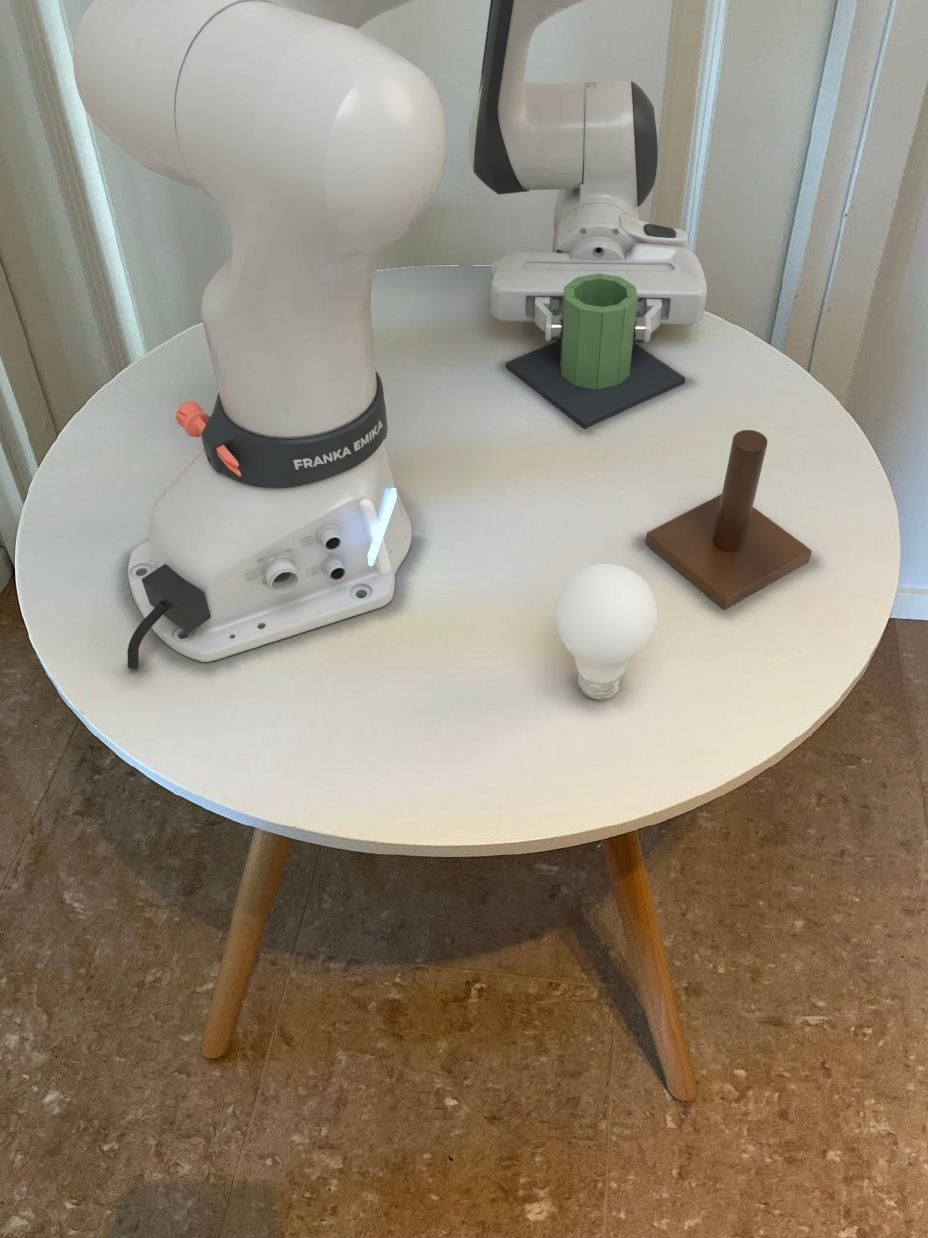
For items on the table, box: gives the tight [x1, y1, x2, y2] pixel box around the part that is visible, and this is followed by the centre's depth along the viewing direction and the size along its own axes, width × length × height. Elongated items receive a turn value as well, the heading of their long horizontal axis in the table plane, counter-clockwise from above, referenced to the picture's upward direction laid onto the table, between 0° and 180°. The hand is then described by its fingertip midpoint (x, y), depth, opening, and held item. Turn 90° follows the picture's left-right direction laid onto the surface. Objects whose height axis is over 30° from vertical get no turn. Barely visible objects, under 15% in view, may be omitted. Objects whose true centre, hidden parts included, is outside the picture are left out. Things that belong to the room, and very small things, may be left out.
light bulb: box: [553, 563, 659, 701], centre depth 70 cm, size 7×7×11 cm
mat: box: [505, 341, 686, 429], centre depth 100 cm, size 12×12×1 cm
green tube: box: [560, 273, 638, 390], centre depth 97 cm, size 6×7×8 cm
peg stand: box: [644, 429, 813, 610], centre depth 79 cm, size 9×9×11 cm
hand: (597, 335), depth 96 cm, fingers open, 7 cm apart
